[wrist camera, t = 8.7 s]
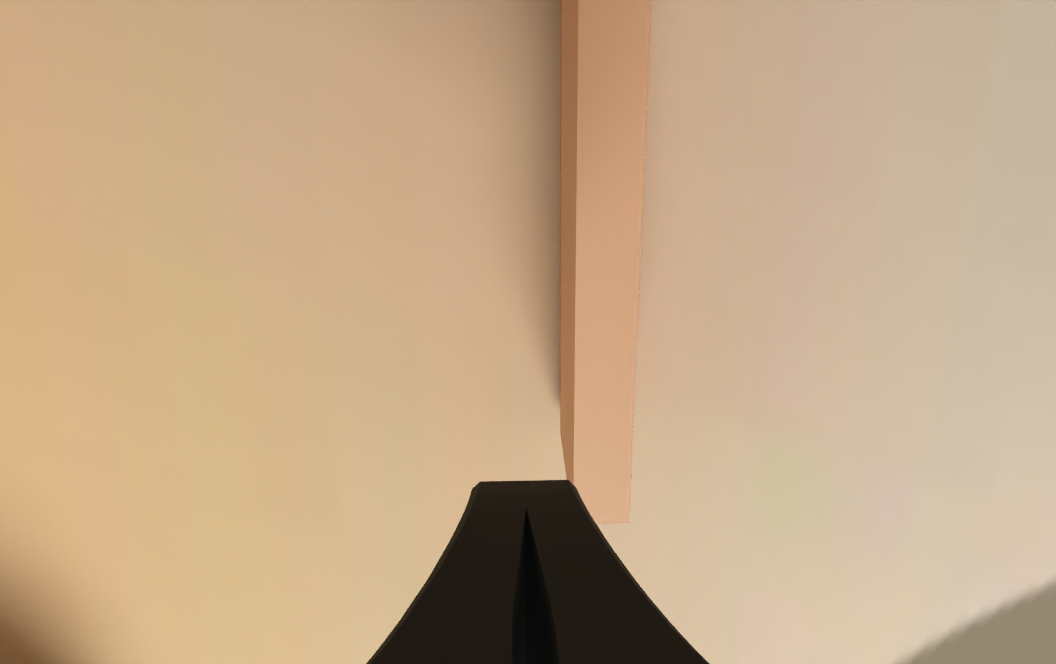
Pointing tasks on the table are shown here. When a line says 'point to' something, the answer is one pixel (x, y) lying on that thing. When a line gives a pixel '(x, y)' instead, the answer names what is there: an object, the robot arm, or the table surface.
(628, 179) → the bar
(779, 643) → the table surface
